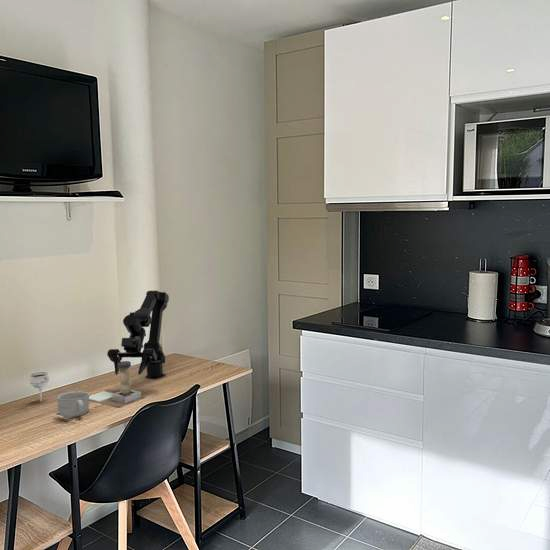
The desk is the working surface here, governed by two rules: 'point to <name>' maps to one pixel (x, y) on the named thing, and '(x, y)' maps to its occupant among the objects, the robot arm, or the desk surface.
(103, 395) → the coaster
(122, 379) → the peg
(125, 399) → the collar
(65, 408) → the teacup
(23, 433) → the desk surface
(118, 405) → the board
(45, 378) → the wineglass
